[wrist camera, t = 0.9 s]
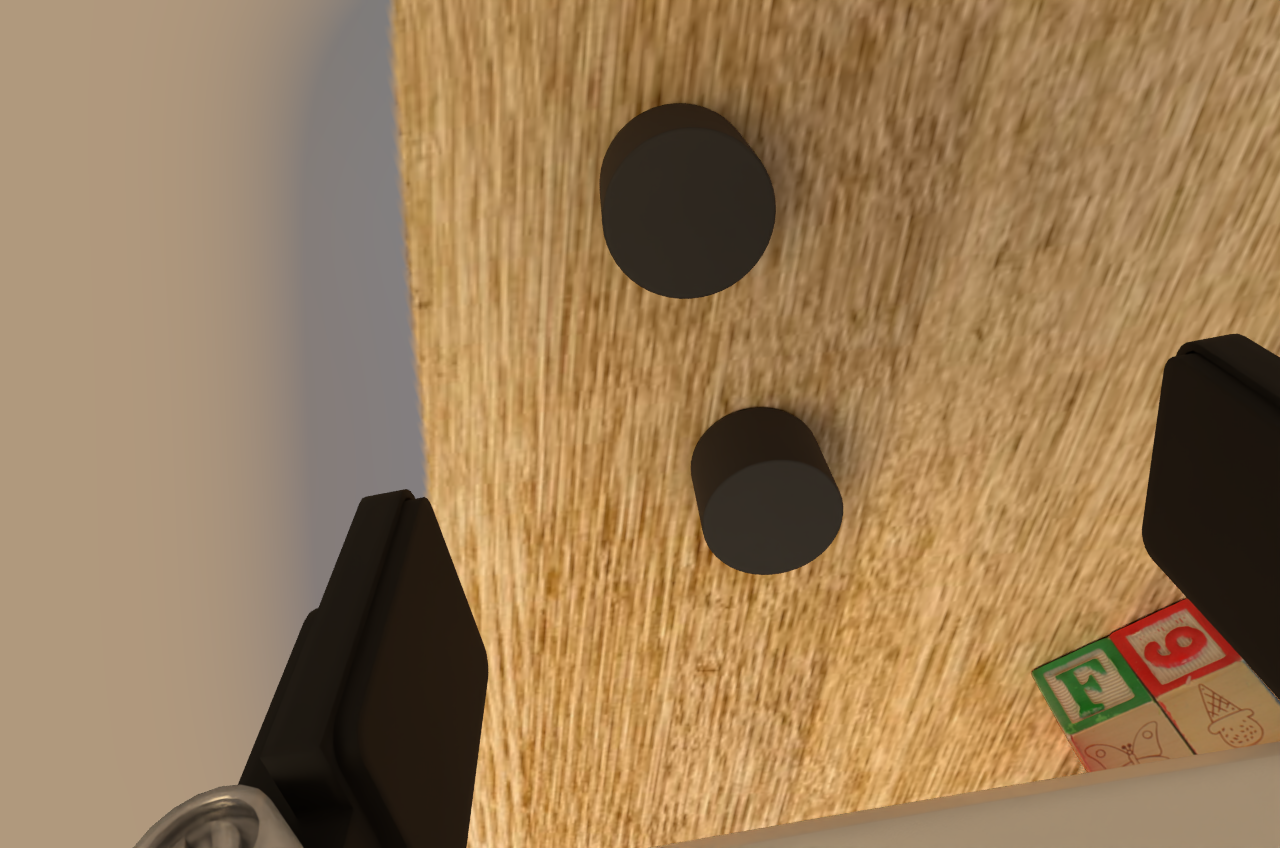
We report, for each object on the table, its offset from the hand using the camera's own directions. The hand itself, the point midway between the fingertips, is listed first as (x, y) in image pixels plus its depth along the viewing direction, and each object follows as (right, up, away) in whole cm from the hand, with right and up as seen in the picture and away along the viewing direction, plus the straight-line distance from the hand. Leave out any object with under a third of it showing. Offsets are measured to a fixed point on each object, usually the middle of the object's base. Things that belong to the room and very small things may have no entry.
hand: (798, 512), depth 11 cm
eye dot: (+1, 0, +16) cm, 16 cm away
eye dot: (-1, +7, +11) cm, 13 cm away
